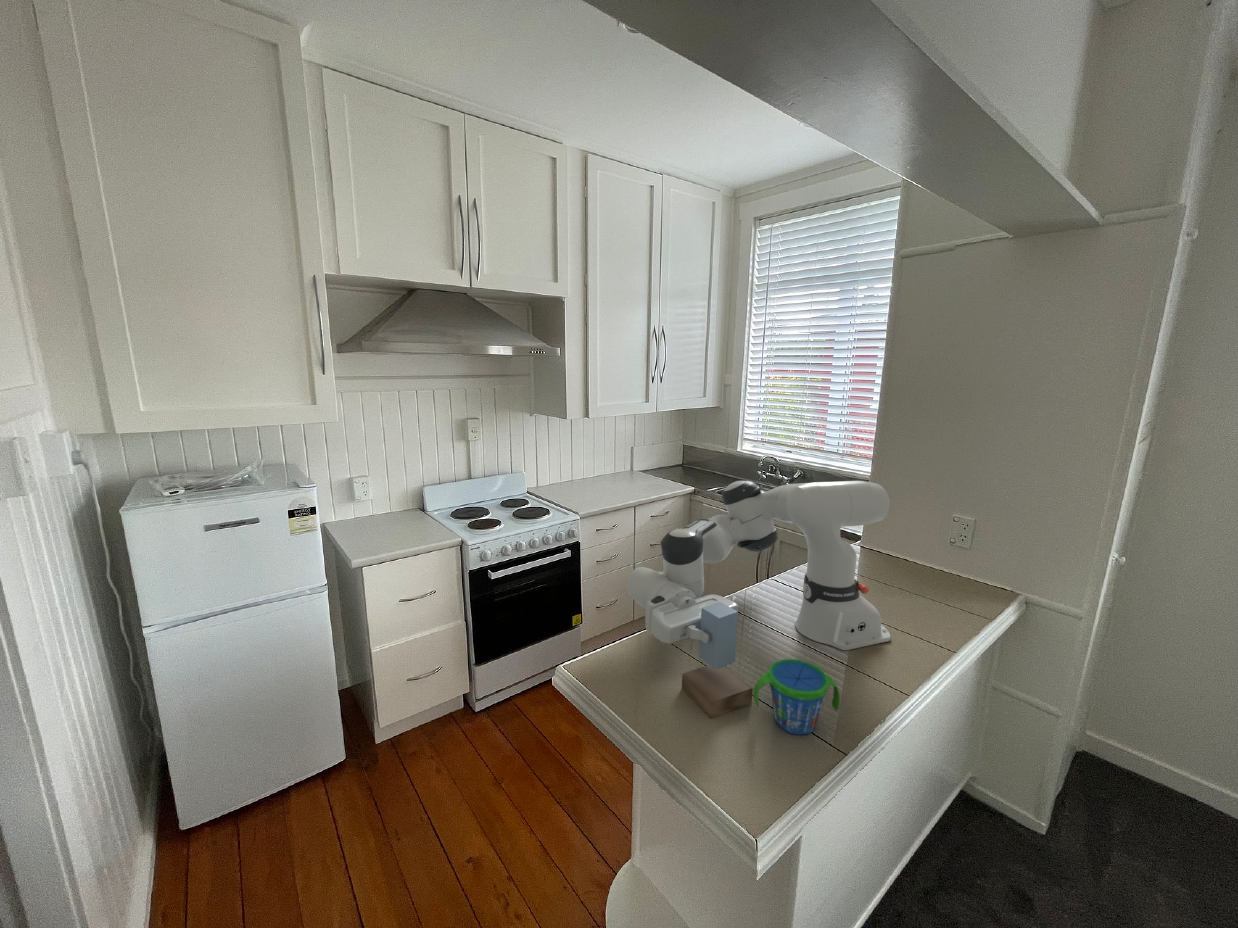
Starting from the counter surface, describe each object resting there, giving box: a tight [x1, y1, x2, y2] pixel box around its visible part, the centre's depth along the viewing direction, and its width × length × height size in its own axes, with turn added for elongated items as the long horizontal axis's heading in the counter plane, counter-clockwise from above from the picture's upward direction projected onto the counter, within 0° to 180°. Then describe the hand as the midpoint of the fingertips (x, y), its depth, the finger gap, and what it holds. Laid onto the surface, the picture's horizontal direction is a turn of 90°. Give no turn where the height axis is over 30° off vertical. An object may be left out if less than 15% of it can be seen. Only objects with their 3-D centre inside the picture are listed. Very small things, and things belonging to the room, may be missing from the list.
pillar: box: [698, 602, 739, 670], centre depth 101 cm, size 5×5×11 cm
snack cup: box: [753, 658, 841, 735], centre depth 95 cm, size 16×10×10 cm
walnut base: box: [681, 664, 754, 720], centre depth 103 cm, size 10×10×4 cm
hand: (721, 634), depth 100 cm, fingers closed on pillar, 5 cm apart
